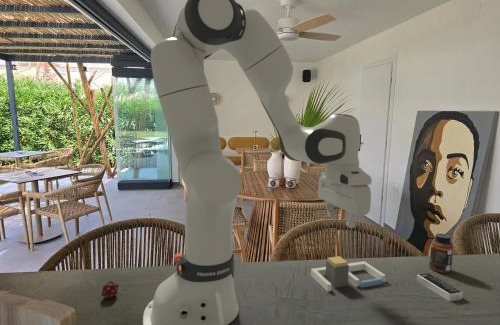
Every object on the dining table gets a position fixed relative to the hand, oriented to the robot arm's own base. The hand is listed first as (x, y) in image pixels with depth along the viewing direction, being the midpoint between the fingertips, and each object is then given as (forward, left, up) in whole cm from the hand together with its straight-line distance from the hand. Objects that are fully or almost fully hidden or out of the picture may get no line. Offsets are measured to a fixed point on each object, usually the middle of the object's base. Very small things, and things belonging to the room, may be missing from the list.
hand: (340, 221), depth 85 cm
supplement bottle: (+36, -2, -19) cm, 41 cm away
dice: (-62, +10, -19) cm, 65 cm away
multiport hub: (+25, -11, -19) cm, 33 cm away
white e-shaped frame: (+4, +1, -18) cm, 19 cm away
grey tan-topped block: (0, 0, -18) cm, 18 cm away
